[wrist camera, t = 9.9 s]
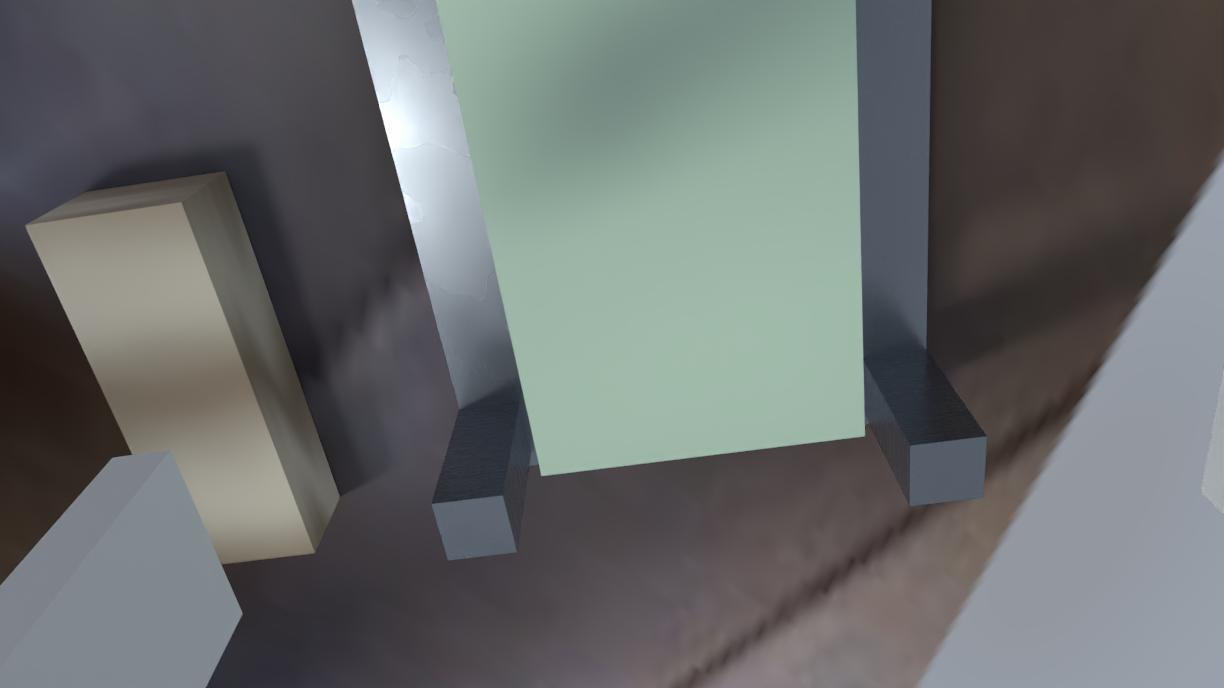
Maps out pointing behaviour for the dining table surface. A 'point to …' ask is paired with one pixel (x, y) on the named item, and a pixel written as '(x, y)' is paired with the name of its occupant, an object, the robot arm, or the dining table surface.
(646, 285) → the mint green block
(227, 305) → the block
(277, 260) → the dining table surface
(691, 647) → the dining table surface
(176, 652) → the robot arm
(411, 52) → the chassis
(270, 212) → the dining table surface
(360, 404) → the dining table surface
